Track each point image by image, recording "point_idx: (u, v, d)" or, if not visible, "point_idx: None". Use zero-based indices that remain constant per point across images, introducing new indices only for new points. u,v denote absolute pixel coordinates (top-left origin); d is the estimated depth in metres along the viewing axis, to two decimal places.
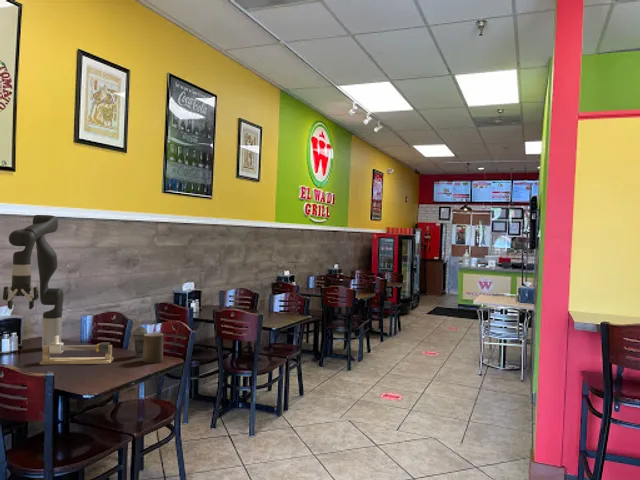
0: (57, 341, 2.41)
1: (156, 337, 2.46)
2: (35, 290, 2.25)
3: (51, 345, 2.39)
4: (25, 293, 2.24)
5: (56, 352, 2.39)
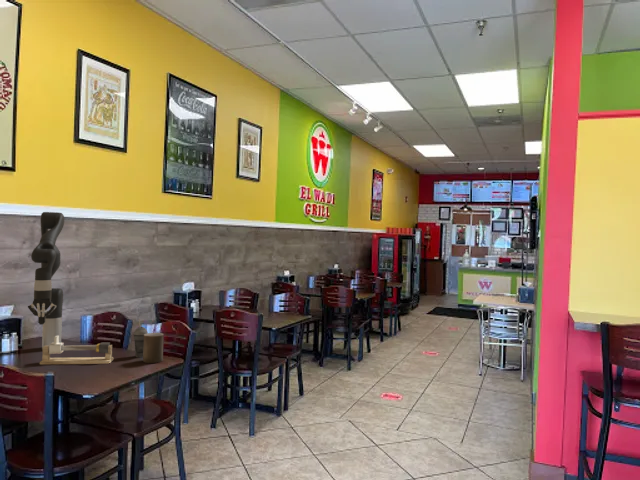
0: (57, 341, 2.41)
1: (156, 337, 2.46)
2: (52, 308, 2.40)
3: (51, 345, 2.39)
4: (43, 308, 2.38)
5: (56, 352, 2.39)
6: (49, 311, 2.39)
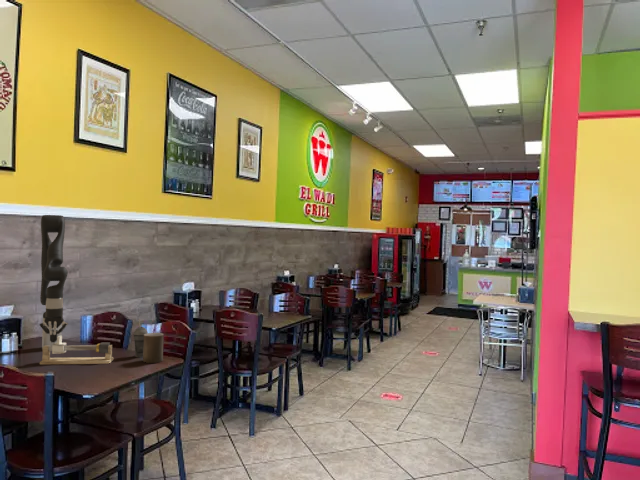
0: (60, 341, 2.41)
1: (156, 337, 2.46)
2: (64, 326, 2.40)
3: (54, 345, 2.39)
4: (55, 326, 2.39)
5: (59, 352, 2.39)
6: (61, 329, 2.40)
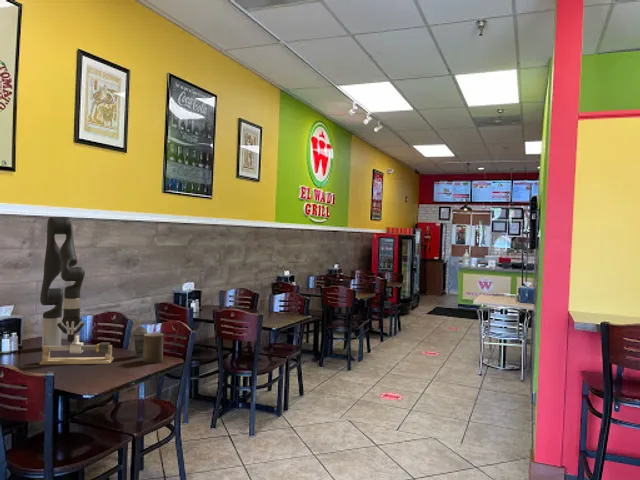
0: (77, 341, 2.43)
1: (156, 337, 2.46)
2: (81, 326, 2.42)
3: (71, 345, 2.40)
4: (72, 326, 2.41)
5: (76, 352, 2.41)
6: (78, 329, 2.42)
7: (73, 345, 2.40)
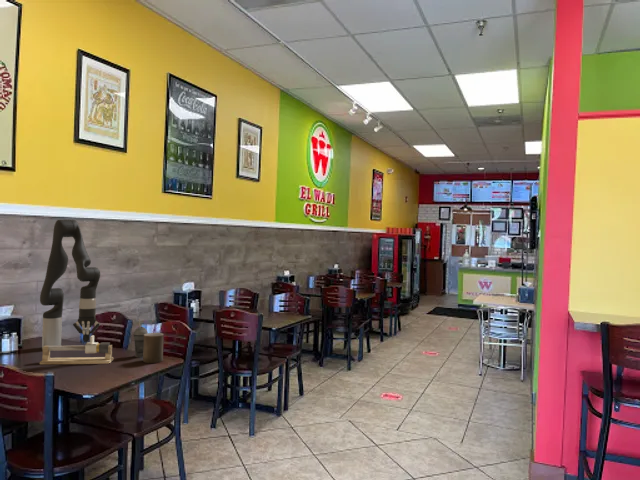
0: (93, 341, 2.44)
1: (156, 337, 2.46)
2: (97, 326, 2.43)
3: (87, 345, 2.42)
4: (88, 326, 2.42)
5: (92, 352, 2.42)
6: (93, 329, 2.43)
7: (88, 345, 2.42)
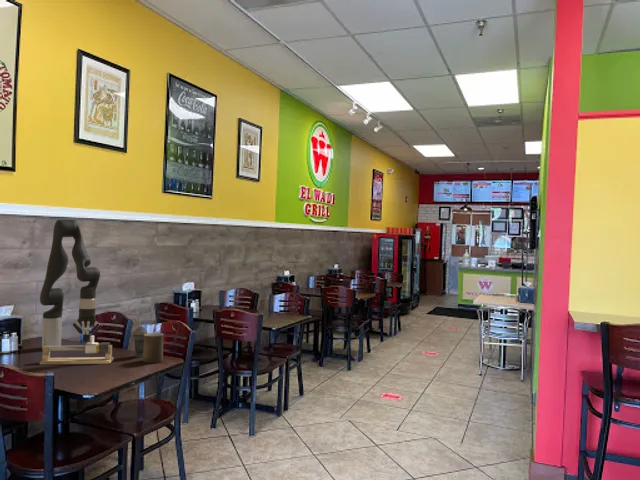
0: (93, 341, 2.44)
1: (156, 337, 2.46)
2: (97, 326, 2.43)
3: (87, 345, 2.42)
4: (88, 326, 2.42)
5: (92, 352, 2.42)
6: (93, 329, 2.43)
7: (88, 345, 2.42)
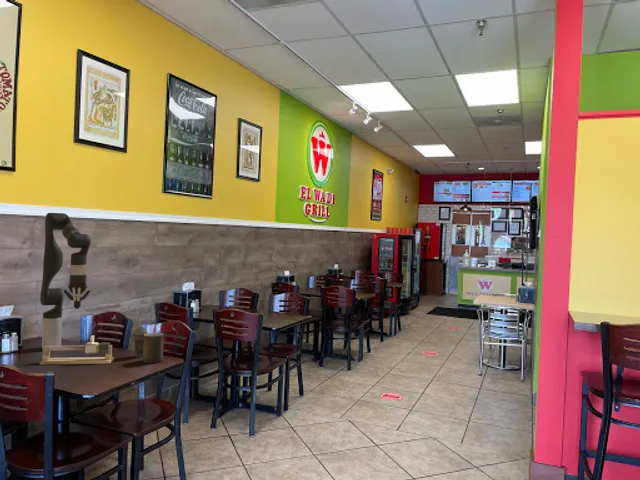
0: (93, 341, 2.44)
1: (156, 337, 2.46)
2: (87, 293, 2.42)
3: (87, 345, 2.42)
4: (79, 292, 2.41)
5: (92, 352, 2.42)
6: (84, 295, 2.42)
7: (88, 345, 2.42)
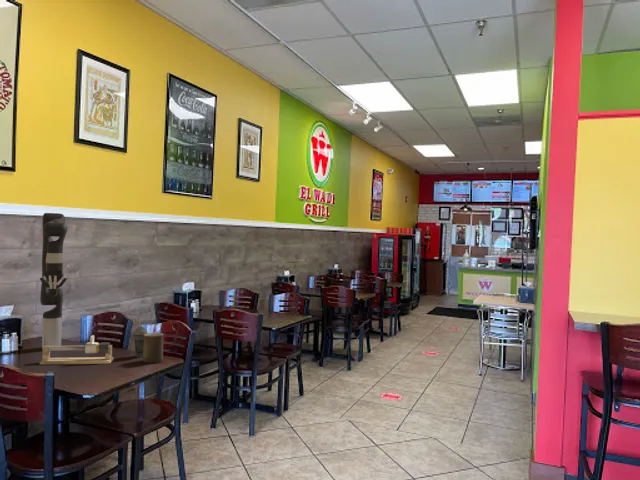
0: (93, 341, 2.44)
1: (156, 337, 2.46)
2: (64, 281, 2.46)
3: (87, 345, 2.42)
4: (55, 280, 2.45)
5: (92, 352, 2.42)
6: (61, 283, 2.46)
7: (88, 345, 2.42)
